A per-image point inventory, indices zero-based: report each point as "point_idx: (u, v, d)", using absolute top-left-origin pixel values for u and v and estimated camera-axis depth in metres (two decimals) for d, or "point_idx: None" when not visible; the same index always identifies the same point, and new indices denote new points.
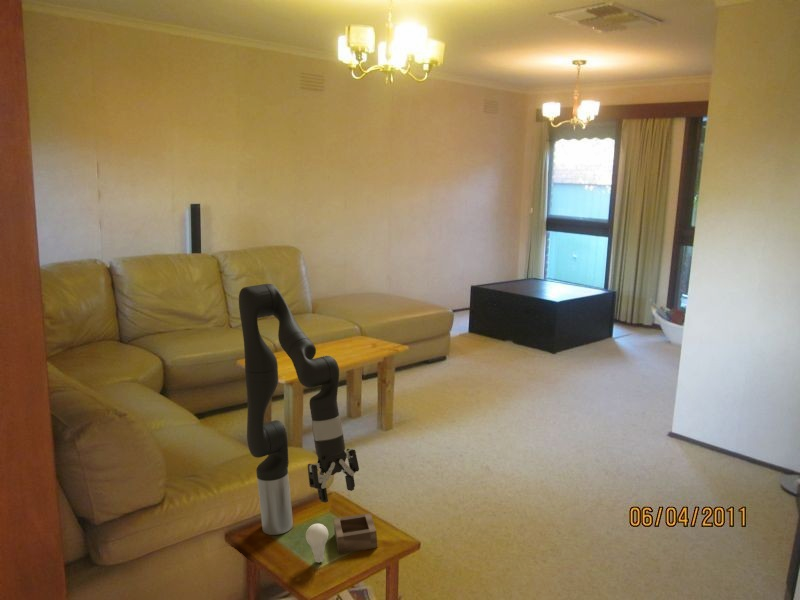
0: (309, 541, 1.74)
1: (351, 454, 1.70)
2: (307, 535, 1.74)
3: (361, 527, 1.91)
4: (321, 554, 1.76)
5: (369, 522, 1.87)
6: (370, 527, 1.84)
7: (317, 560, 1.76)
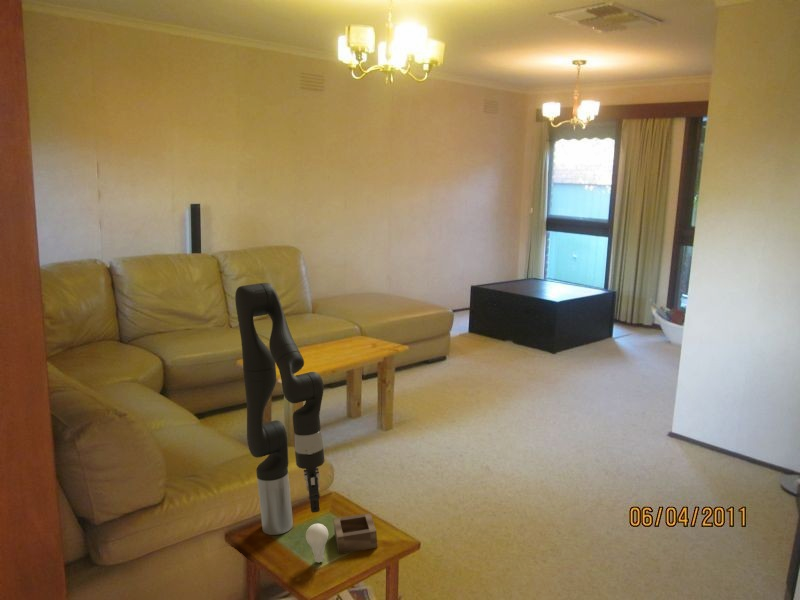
0: (309, 541, 1.74)
1: None
2: (307, 535, 1.74)
3: (361, 527, 1.91)
4: (321, 554, 1.76)
5: (369, 522, 1.87)
6: (370, 527, 1.84)
7: (317, 560, 1.76)
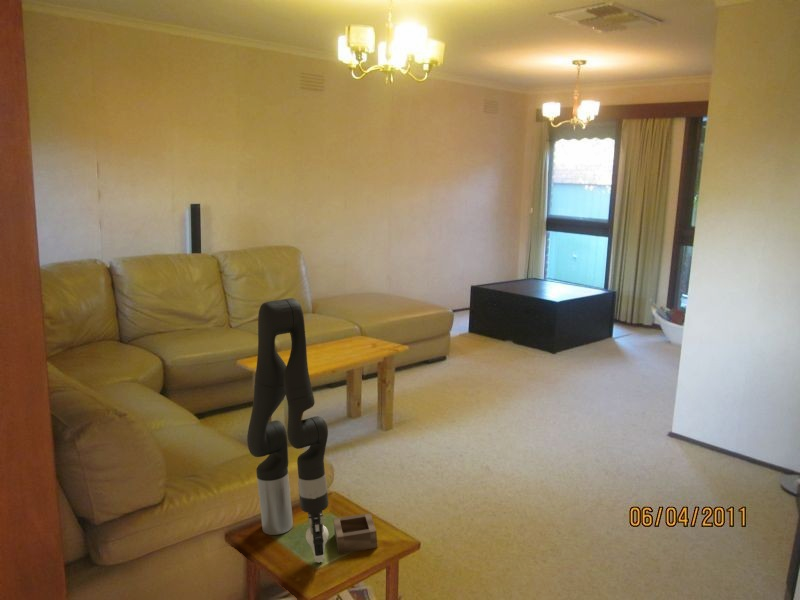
0: (309, 541, 1.74)
1: None
2: (307, 535, 1.74)
3: (361, 527, 1.91)
4: None
5: (369, 522, 1.87)
6: (370, 527, 1.84)
7: (317, 560, 1.76)
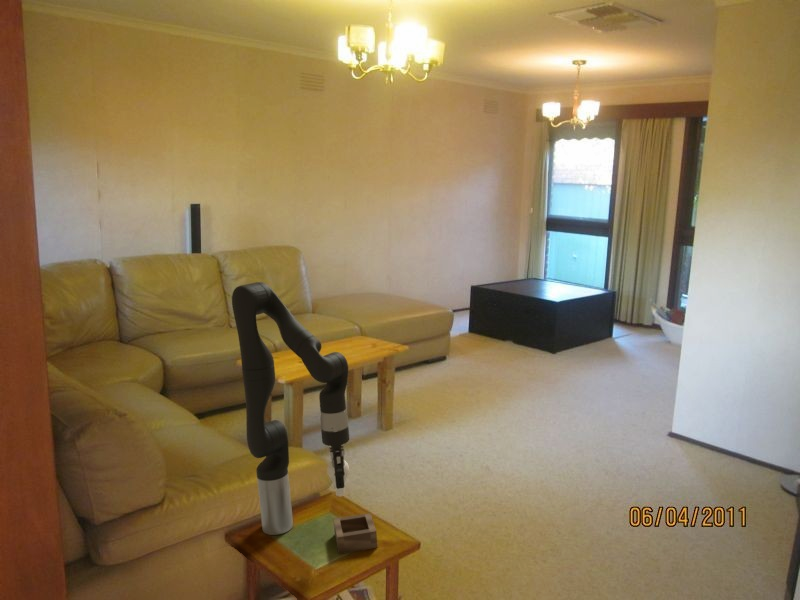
0: (330, 474, 1.78)
1: None
2: (328, 469, 1.79)
3: (361, 527, 1.91)
4: (342, 488, 1.80)
5: (369, 522, 1.87)
6: (370, 527, 1.84)
7: (338, 494, 1.80)
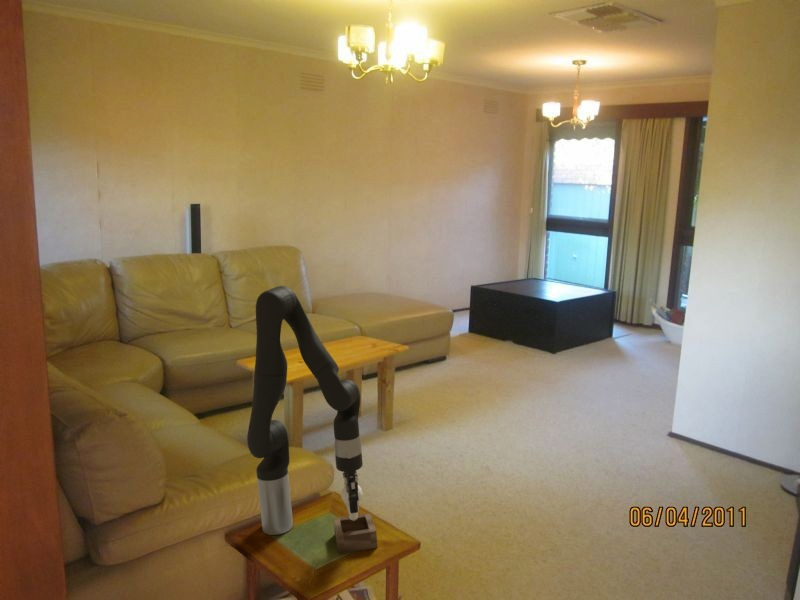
0: (344, 499, 1.83)
1: None
2: (342, 494, 1.83)
3: (361, 527, 1.91)
4: None
5: (369, 522, 1.87)
6: (370, 527, 1.84)
7: (352, 518, 1.85)
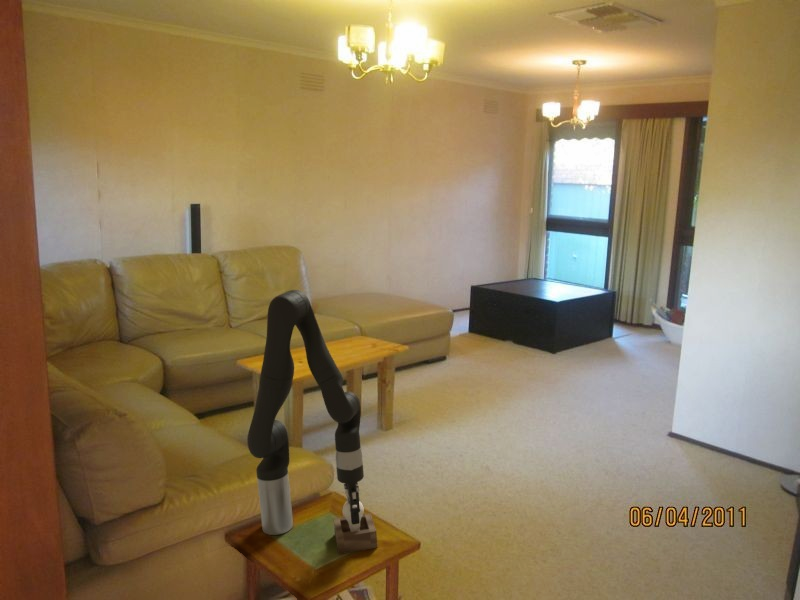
0: (346, 515, 1.83)
1: None
2: (344, 510, 1.84)
3: (361, 527, 1.91)
4: (357, 528, 1.85)
5: (369, 522, 1.87)
6: (370, 527, 1.84)
7: None
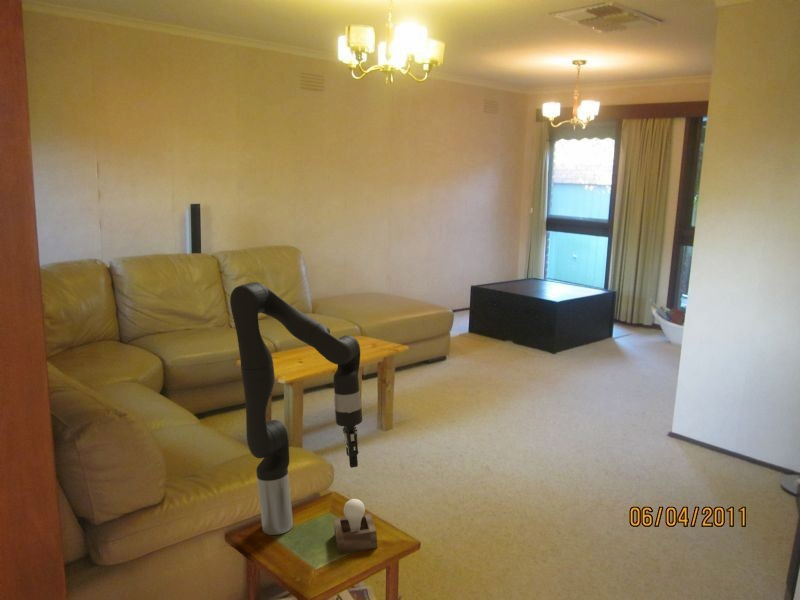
0: (347, 515, 1.83)
1: None
2: (345, 509, 1.84)
3: (361, 527, 1.91)
4: (357, 528, 1.85)
5: (369, 522, 1.87)
6: (370, 527, 1.84)
7: None
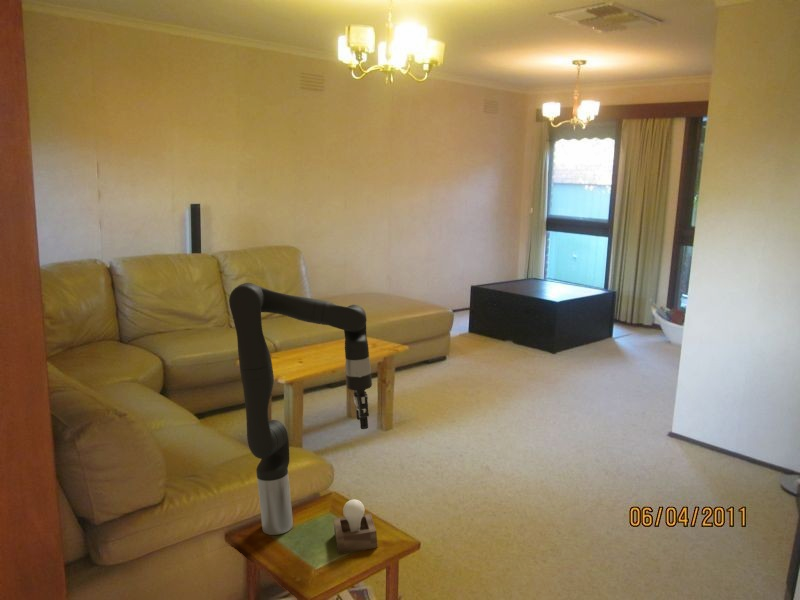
0: (346, 516, 1.83)
1: None
2: (344, 510, 1.84)
3: (361, 527, 1.91)
4: (357, 528, 1.85)
5: (369, 522, 1.87)
6: (370, 527, 1.84)
7: None
